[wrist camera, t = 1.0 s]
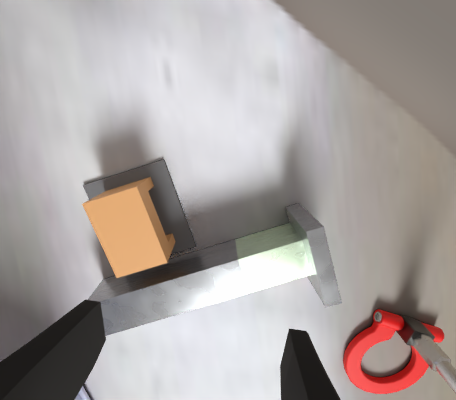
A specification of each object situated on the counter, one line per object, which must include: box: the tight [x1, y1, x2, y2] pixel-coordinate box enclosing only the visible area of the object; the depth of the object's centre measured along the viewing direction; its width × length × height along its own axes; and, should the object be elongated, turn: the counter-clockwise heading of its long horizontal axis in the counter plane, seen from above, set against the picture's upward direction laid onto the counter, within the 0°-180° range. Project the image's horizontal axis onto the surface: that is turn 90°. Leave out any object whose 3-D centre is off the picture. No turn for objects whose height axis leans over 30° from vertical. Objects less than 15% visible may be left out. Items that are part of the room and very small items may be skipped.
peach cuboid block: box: [82, 177, 176, 278], centre depth 22 cm, size 4×6×4 cm, turn 17°
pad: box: [83, 159, 196, 254], centre depth 24 cm, size 7×8×1 cm
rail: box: [88, 203, 342, 336], centre depth 23 cm, size 19×6×6 cm, turn 107°
